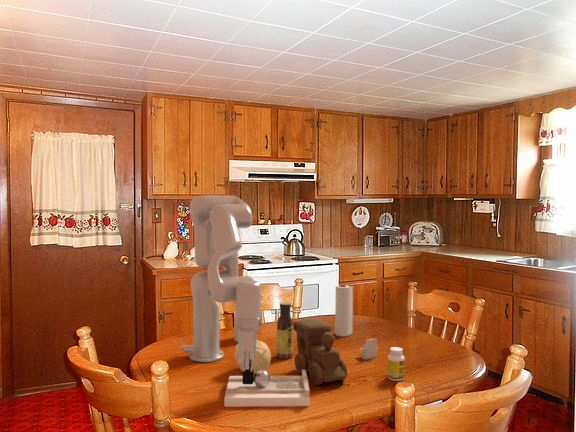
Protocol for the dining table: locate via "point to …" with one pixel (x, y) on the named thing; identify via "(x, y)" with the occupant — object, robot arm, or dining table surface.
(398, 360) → the supplement bottle
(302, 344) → the wooden toy train
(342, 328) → the paper towel roll
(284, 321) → the sauce bottle
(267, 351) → the sculpture
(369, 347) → the architectural model
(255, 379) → the steel ball
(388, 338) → the dining table surface
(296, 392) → the white tray
